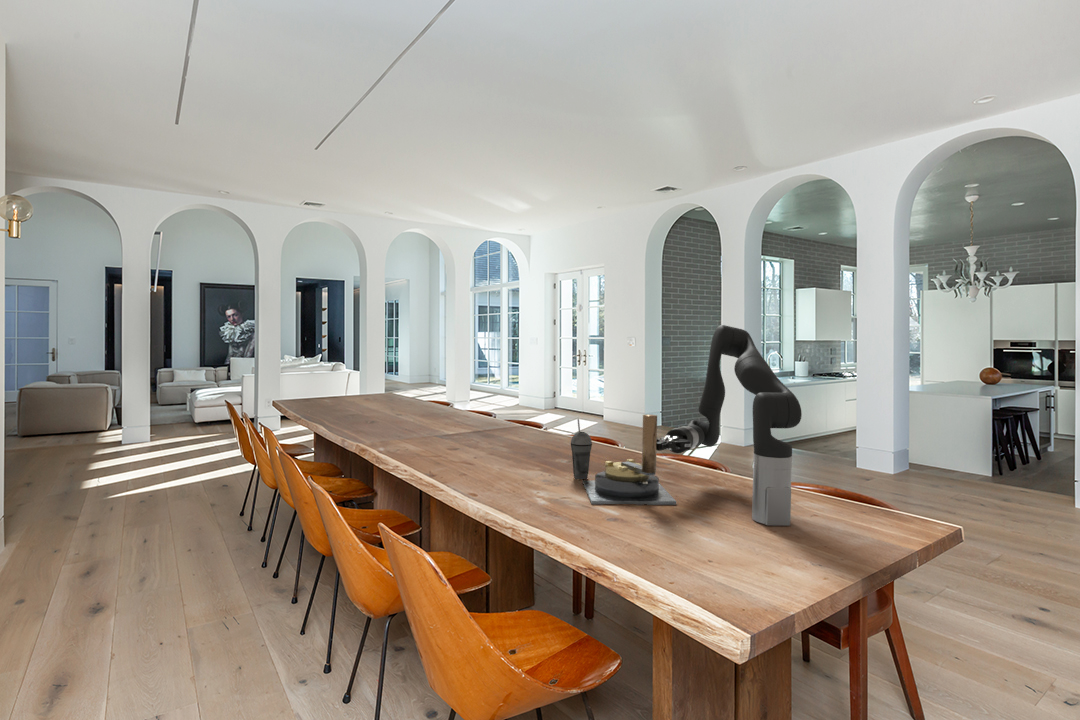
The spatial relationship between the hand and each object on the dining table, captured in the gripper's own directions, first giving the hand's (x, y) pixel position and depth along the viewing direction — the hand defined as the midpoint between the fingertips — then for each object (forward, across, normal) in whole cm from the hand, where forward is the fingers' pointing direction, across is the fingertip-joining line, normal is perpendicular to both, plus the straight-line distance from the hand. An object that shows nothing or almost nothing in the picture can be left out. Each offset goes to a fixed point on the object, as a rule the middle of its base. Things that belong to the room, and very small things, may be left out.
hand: (657, 446), depth 167 cm
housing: (-3, -12, +16) cm, 20 cm away
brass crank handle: (-2, -9, +11) cm, 14 cm away
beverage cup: (-11, -33, +16) cm, 38 cm away
